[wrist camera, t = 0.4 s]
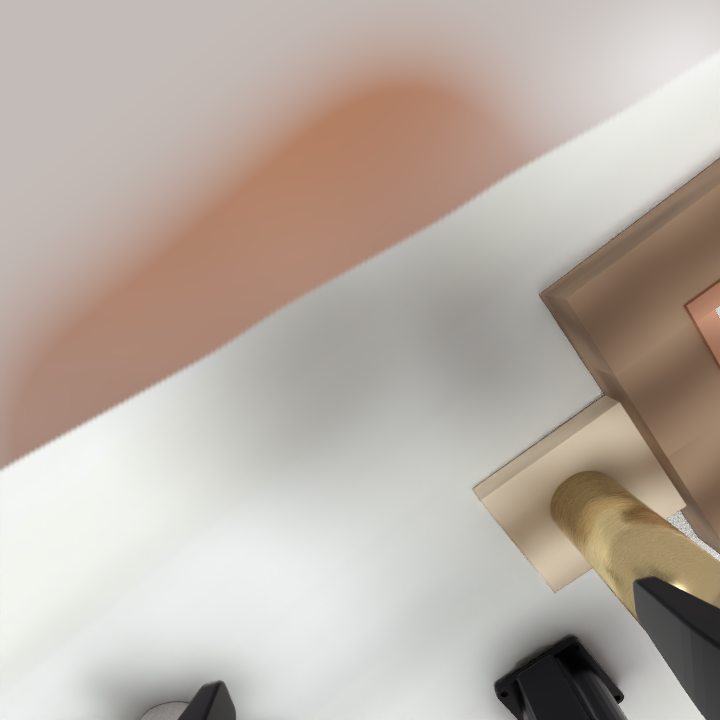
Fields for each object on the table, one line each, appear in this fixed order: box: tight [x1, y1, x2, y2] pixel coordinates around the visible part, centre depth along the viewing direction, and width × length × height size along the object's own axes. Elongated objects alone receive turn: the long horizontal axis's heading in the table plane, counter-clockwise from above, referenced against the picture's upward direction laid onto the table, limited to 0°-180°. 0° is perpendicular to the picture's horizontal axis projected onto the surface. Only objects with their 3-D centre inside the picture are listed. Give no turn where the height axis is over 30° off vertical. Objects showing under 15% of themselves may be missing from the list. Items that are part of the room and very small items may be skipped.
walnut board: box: [473, 159, 720, 593], centre depth 21 cm, size 19×23×3 cm
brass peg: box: [550, 471, 720, 630], centre depth 19 cm, size 4×4×7 cm
